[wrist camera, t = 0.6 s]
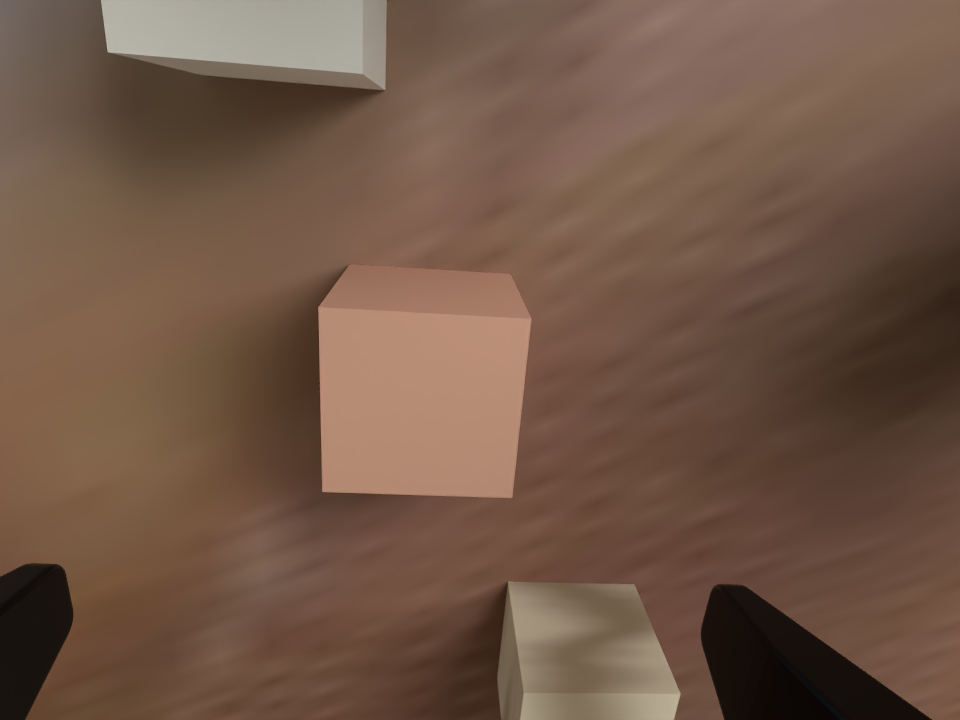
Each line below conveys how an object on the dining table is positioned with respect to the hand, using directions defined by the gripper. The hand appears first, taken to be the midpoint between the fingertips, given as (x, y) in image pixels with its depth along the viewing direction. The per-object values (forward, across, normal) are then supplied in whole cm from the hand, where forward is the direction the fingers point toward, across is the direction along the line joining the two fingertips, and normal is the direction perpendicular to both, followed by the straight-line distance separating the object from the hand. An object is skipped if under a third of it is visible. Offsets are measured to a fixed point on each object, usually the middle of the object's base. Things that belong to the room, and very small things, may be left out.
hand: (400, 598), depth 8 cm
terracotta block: (+12, 0, 0) cm, 12 cm away
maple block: (+12, -6, +12) cm, 18 cm away
